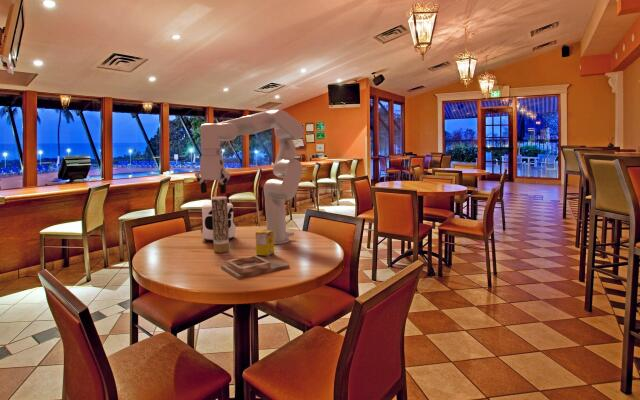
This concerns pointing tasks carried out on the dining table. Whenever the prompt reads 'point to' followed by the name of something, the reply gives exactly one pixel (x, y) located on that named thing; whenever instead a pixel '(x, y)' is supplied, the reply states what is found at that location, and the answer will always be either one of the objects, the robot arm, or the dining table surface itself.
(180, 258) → the dining table surface
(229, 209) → the milk container
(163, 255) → the dining table surface
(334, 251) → the dining table surface
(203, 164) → the robot arm
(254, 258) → the board
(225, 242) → the wooden log
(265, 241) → the supplement box
